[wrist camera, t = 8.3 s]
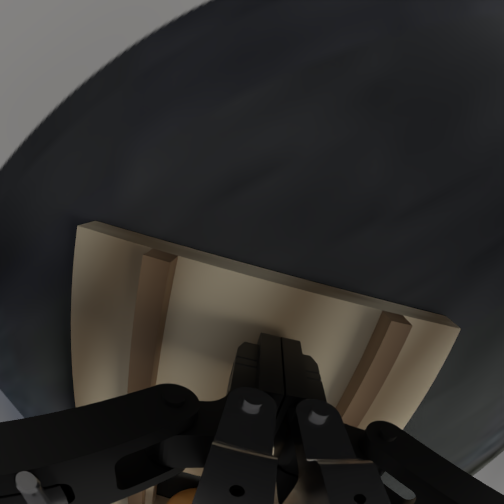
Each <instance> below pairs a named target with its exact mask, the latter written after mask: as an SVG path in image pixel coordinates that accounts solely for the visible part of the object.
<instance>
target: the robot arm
mask: <svg viewBox="0 0 504 504" xmlns="http://www.w3.org/2000/svg"><path fill="white" fill-rule="evenodd" d="M319 373H320V372H319V368H318V364H317V363H316V362H315V360H314V359H313V358H312V357H311V356H309V355H304V354H303V353H302V348H301V342H300V341H298V340H294V339H289V338H284V337H281V338H280V337H279V336H275V335H271V334H266V333H262V332H261V333H260V336H259V339H258V342H257V344H253V343H248V342H244V343H242V344H241V345H240V346H239V347H238V349H237V352H236V356H235V360H234V363H233V367H232V371H231V374H230V378H229V382H228V388H227V393H226V396H225V397H223V398H221V399H219V400H215V401H199V399H198V397H197V396H196V395H195V394H194V392H192V391H191V390H189V389H188V388H186V387H184V386H181V385H177V384H171V383H164V384H159V385H155V386H152V387H149V388H146V389H142V390H139V391H136V392H132V393H129V394H125V395H122V396H118V397H115V398H111V399H107V400H104V401H100V402H96V403H92V404H88V405H84V406H80V407H76V408H72V409H68V410H63V411H59V412H54V413H49V414H45V415H40V416H35V417H29V418H24V419H18V420H12V421H6V422H0V504H111V503H114V502H116V501H119V500H122V499H124V498H127V497H129V496H131V495H134V494H136V493H139V492H141V491H143V490H146V489H148V488H150V487H152V486H154V485H157V484H159V483H161V482H163V481H165V480H167V479H169V478H171V477H173V476H175V475H177V474H179V473H181V472H183V471H184V470H185V468H204V469H203V472H202V475H201V478H200V481H199V484H198V487H197V490H196V493H195V496H194V499H193V501H192V504H504V495H502V494H501V493H499V492H497V491H496V490H494V489H492V488H491V487H489V486H487V485H486V484H484V483H482V482H481V481H479V480H477V479H476V478H474V477H473V476H471V475H469V474H468V473H466V472H465V471H463V470H462V469H460V468H458V467H457V466H455V465H454V464H452V463H451V462H449V461H448V460H446V459H445V458H443V457H441V456H440V455H438V454H437V453H435V452H434V451H432V450H431V449H429V448H428V447H427V446H425V445H424V444H422V443H421V442H419V441H418V440H416V439H415V438H413V437H412V436H410V435H409V434H408V433H406V432H405V431H403V430H402V429H400V428H399V427H398V426H396V425H394V424H392V423H390V422H387V421H373V422H371V423H370V424H369V425H368V426H367V427H366V429H365V430H363V429H360V428H357V427H353V426H350V425H347V424H345V423H343V420H342V418H341V415H340V413H339V412H338V410H337V409H336V408H335V407H334V406H332V405H331V404H329V403H327V400H326V396H325V392H324V388H323V384H322V381H321V376H320V374H319ZM273 447H274V454H273V455H272V453H273ZM385 471H386V472H387V473H389V474H390V475H391V476H393V477H394V478H395V479H397V480H398V481H399V482H401V483H402V484H403V485H405V486H406V487H408V488H409V489H410V490H412V491H413V492H414V493H415V495H416V497H415V498H414V499H411V500H406V499H404V498H402V497H401V496H399V495H398V494H397V493H395V492H394V491H392V490H391V489H390V488H388V487H387V486H386V485H385V484H383V482H382V480H381V476H382V474H383V473H384V472H385Z"/></svg>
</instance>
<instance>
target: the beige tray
mask: <svg viewBox="0 0 504 504" xmlns="http://www.w3.org/2000/svg"><path fill="white" fill-rule="evenodd" d="M460 330H461V329H460V328H459V327H458V326H457V325H456V324H455V323H453V322H452V321H451V320H450V319H449V318H447V317H446V316H443V315H439V314H435V313H431V312H427V311H424V310H420V309H416V308H412V307H408V306H404V305H400V304H396V303H392V302H388V301H385V300H381V299H377V298H373V297H369V296H365V295H362V294H358V293H354V292H350V291H346V290H343V289H339V288H335V287H331V286H328V285H324V284H320V283H316V282H313V281H309V280H305V279H301V278H298V277H294V276H290V275H287V274H283V273H279V272H276V271H272V270H268V269H265V268H261V267H257V266H254V265H250V264H246V263H243V262H239V261H235V260H232V259H228V258H225V257H221V256H217V255H214V254H210V253H207V252H203V251H199V250H196V249H192V248H189V247H185V246H182V245H178V244H175V243H171V242H168V241H164V240H161V239H157V238H153V237H150V236H146V235H143V234H140V233H136V232H133V231H129V230H126V229H122V228H119V227H115V226H112V225H108V224H105V223H102V222H98V221H93V222H89V223H85V224H81V225H78V226H77V233H76V242H75V252H74V263H73V276H72V296H71V353H72V372H73V386H74V396H75V406H76V407H80V406H84V405H88V404H92V403H96V402H100V401H104V400H107V399H111V398H115V397H118V396H122V395H125V394H129V393H132V392H136V391H139V390H142V389H146V388H149V387H152V386H155V385H159V384H164V383H171V384H177V385H181V386H184V387H186V388H188V389H189V390H191V391H192V392H194V394H195V395H196V396H197V397H198V399H199V401H215V400H219V399H221V398H223V397H225V396H226V393H227V388H228V382H229V378H230V374H231V371H232V367H233V363H234V360H235V356H236V352H237V349H238V347H239V346H240V345H241V344H242V343H244V342H248V343H253V344H257V342H258V339H259V336H260V333H261V332H262V333H266V334H271V335H275V336H279V337H280V338H281V337H284V338H289V339H294V340H298V341H300V342H301V348H302V353H303V354H304V355H309V356H311V357H312V358H313V359H314V360H315V362H316V363H317V364H318V368H319V372H320V373H319V374H320V376H321V381H322V384H323V388H324V392H325V396H326V400H327V403H329V404H331V405H332V406H334V407H335V408H336V409H337V410H338V412H339V413H340V415H341V418H342V420H343V423H345V424H347V425H350V426H353V427H357V428H360V429H363V430H365V429H366V427H367V426H368V425H369V424H370V423H371V422H373V421H387V422H390V423H392V424H394V425H396V426H398V427H399V428H400V429H402V430H403V428H404V427H405V425H406V424H407V423H408V421H409V420H410V418H411V417H412V415H413V414H414V412H415V411H416V409H417V408H418V406H419V404H420V403H421V401H422V400H423V398H424V396H425V395H426V393H427V392H428V390H429V388H430V387H431V385H432V383H433V381H434V380H435V378H436V376H437V374H438V373H439V371H440V369H441V367H442V365H443V364H444V362H445V360H446V358H447V356H448V354H449V352H450V350H451V348H452V346H453V344H454V342H455V340H456V338H457V336H458V334H459V332H460ZM273 454H274V447H273V453H272V455H273ZM203 469H204V468H185V470H184V471H183V472H186V473H190V474H193V475H197V476H201V475H202V472H203ZM156 492H157V485H154V486H152V487H150V488H148V489H146V490H143V491H141V492H139V493H136V494H134V495H131V496H129V497H127V498H124V499H122V500H119V501H116V502H114V503H111V504H166V503H167V502H168V501H169V499H170V498H166V497H163V496H160V495H157V494H156Z"/></svg>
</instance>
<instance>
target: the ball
mask: <svg viewBox="0 0 504 504" xmlns="http://www.w3.org/2000/svg"><path fill="white" fill-rule="evenodd" d="M196 490H197V488H190V489H186V490H183V491H180V492H178V493H177V494H175V495H174V496H172V497H171V498H170V499H169V501H168V502H167V503H166V504H192V501H193V499H194V496H195V493H196Z"/></svg>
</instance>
